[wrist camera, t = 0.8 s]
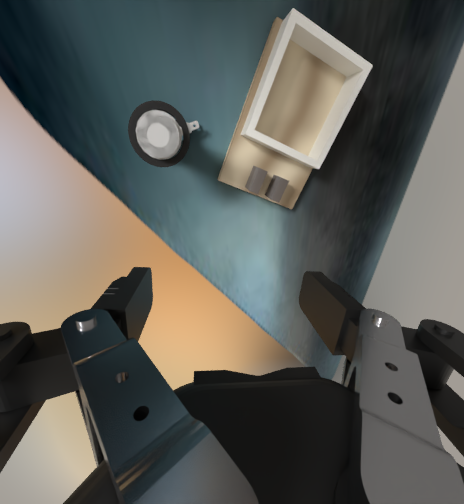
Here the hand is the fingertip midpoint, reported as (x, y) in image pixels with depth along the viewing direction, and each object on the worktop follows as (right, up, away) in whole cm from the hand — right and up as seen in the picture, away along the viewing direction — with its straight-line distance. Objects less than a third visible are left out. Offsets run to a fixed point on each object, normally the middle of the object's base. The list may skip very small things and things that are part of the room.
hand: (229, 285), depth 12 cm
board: (+7, +18, +18) cm, 27 cm away
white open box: (+8, +20, +16) cm, 27 cm away
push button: (-7, +17, +17) cm, 25 cm away
